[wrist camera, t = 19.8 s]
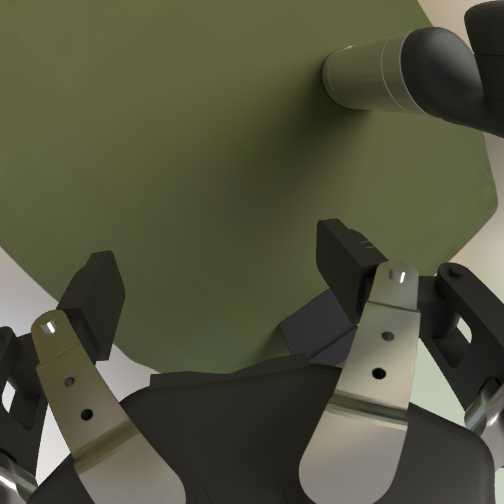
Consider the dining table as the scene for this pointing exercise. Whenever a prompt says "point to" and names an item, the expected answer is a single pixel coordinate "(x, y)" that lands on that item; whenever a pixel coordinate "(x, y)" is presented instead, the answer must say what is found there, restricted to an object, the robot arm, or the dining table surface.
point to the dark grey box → (320, 331)
